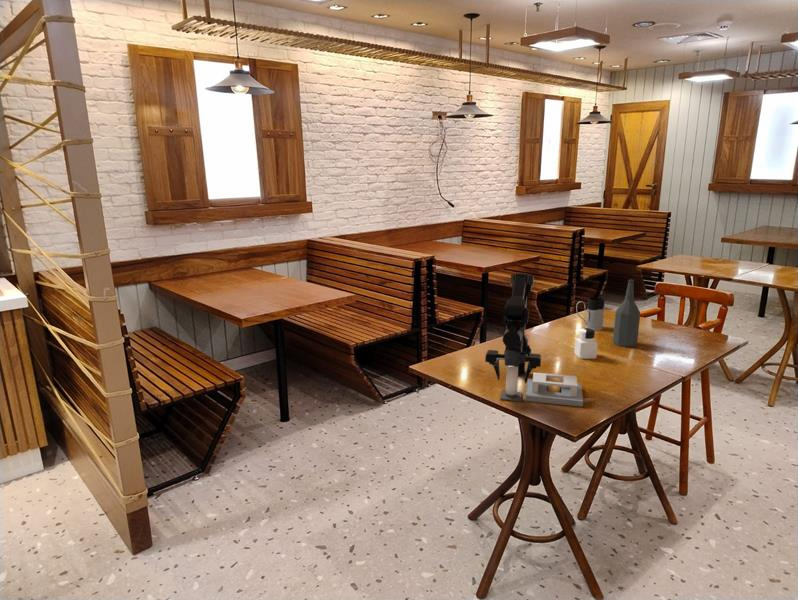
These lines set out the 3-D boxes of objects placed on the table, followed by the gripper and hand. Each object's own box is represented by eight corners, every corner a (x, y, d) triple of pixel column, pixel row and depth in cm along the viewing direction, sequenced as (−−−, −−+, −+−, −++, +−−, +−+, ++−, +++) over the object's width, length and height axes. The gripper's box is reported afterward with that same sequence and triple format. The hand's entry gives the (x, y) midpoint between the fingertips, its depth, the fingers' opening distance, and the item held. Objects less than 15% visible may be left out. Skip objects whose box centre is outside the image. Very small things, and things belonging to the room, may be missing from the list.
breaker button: (547, 391, 198) (548, 384, 197) (559, 392, 197) (559, 385, 196) (547, 395, 194) (548, 388, 194) (559, 396, 193) (560, 390, 193)
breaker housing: (527, 383, 206) (528, 368, 204) (580, 388, 201) (581, 373, 199) (525, 400, 191) (526, 384, 189) (582, 406, 186) (584, 390, 184)
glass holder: (606, 330, 270) (608, 300, 267) (577, 330, 270) (579, 301, 266) (599, 325, 279) (602, 296, 275) (571, 325, 278) (574, 296, 275)
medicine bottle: (590, 353, 238) (592, 326, 235) (596, 358, 231) (598, 331, 228) (574, 353, 238) (576, 326, 235) (579, 359, 231) (582, 331, 228)
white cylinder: (504, 393, 195) (505, 364, 193) (514, 392, 196) (516, 363, 193) (507, 397, 191) (508, 368, 189) (518, 397, 192) (519, 367, 189)
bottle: (631, 340, 254) (638, 277, 247) (640, 347, 245) (647, 282, 238) (609, 340, 255) (615, 277, 247) (617, 347, 245) (623, 282, 238)
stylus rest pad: (502, 391, 198) (502, 390, 198) (521, 394, 196) (521, 392, 196) (500, 399, 191) (500, 398, 191) (520, 402, 190) (520, 400, 190)
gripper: (484, 343, 183) (482, 387, 187) (541, 348, 179) (538, 392, 182) (487, 334, 194) (486, 375, 198) (542, 338, 189) (539, 380, 193)
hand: (512, 381), depth 192 cm, fingers open, 9 cm apart
